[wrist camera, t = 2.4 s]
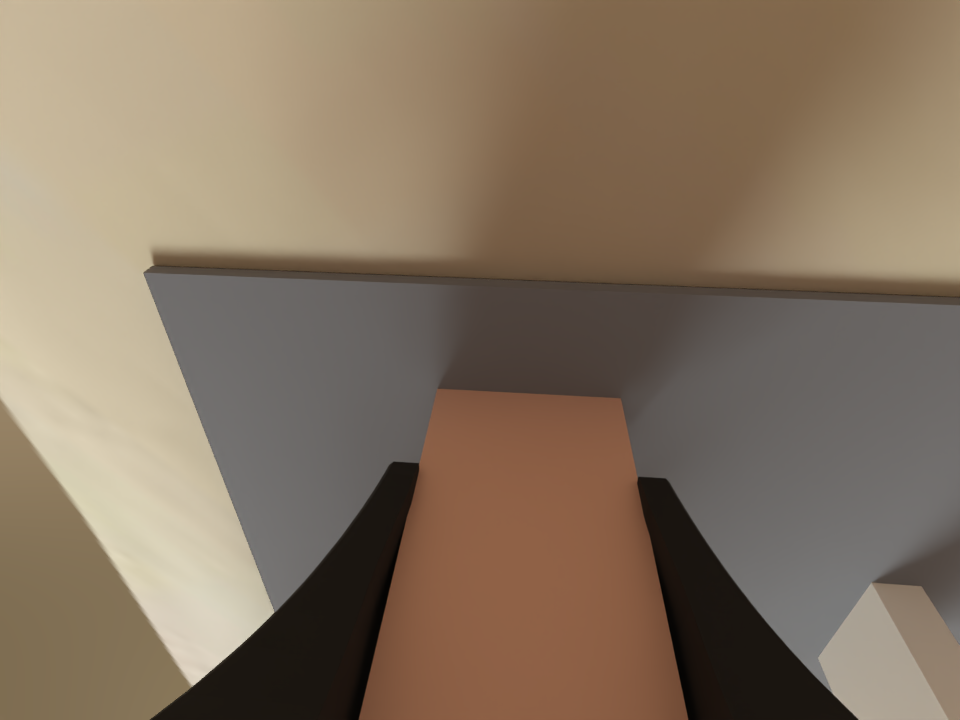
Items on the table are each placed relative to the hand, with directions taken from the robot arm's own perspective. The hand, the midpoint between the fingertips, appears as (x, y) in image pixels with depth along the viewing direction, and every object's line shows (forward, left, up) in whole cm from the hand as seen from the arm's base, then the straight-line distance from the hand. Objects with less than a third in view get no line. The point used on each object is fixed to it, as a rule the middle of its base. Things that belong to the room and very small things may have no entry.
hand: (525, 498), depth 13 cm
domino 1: (0, 0, -3) cm, 3 cm away
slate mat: (+7, -6, -3) cm, 10 cm away
